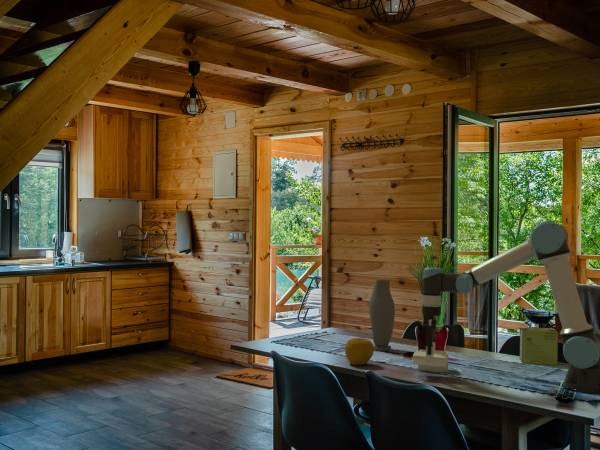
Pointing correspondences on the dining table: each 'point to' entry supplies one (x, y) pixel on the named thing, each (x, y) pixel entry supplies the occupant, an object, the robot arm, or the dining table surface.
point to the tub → (434, 368)
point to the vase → (382, 315)
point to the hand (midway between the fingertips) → (430, 360)
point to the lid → (438, 359)
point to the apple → (359, 351)
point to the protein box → (538, 345)
